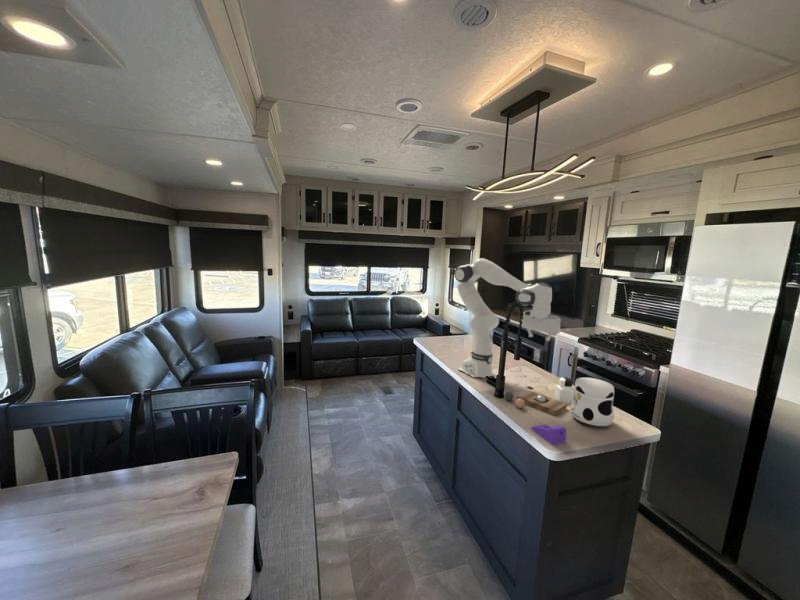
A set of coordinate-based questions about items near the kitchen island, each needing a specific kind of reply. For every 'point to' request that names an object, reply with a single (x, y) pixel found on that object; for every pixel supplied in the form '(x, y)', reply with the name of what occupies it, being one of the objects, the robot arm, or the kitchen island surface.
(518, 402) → the terracotta ball
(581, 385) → the doce de leite tub
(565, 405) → the hole plate
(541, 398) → the steel ball
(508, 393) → the rubber ball
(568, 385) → the medicine bottle
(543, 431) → the bracket
